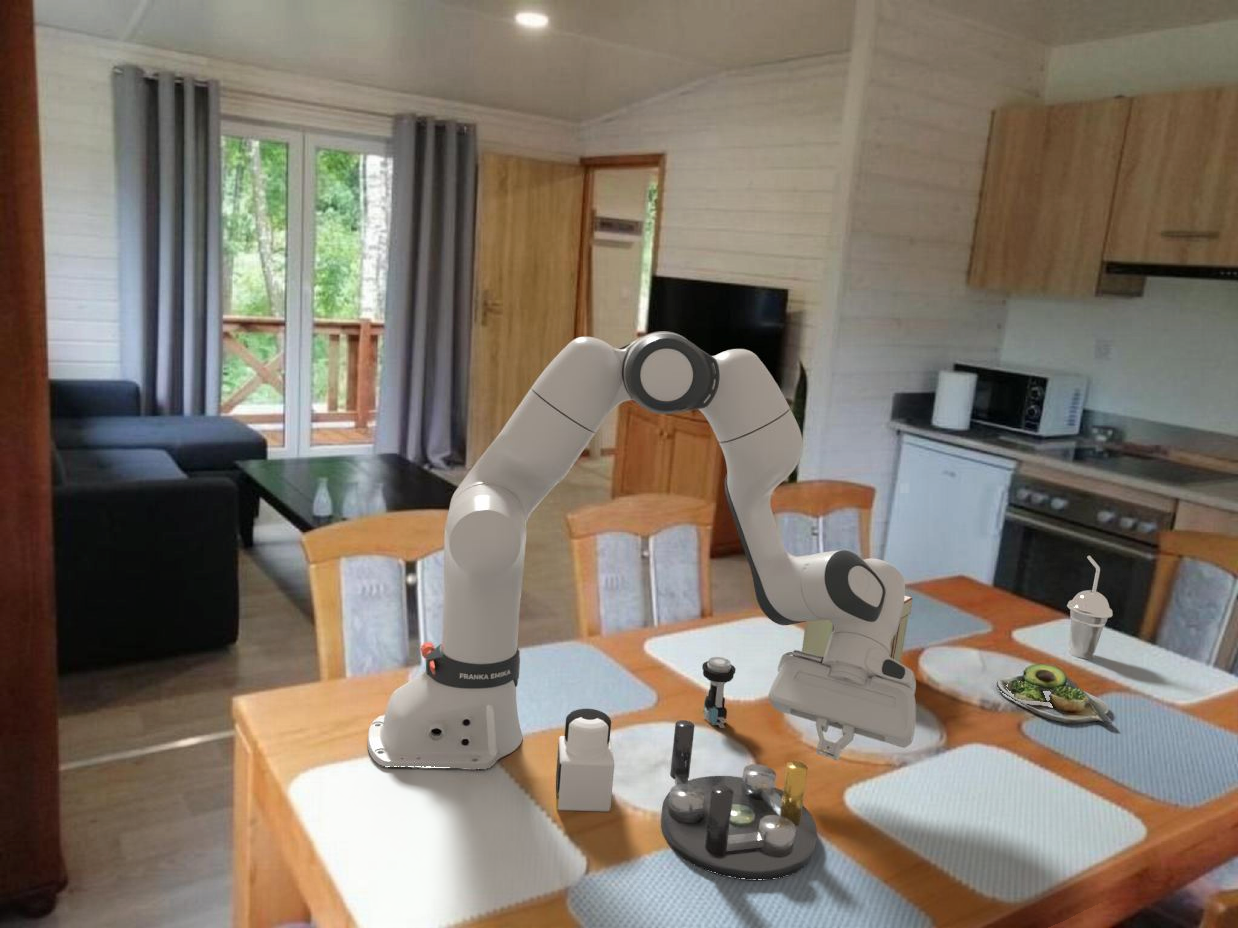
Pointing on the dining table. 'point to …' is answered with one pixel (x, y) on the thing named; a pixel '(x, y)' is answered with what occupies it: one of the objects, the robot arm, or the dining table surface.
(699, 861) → the levelling plate
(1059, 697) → the salad plate
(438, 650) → the robot arm
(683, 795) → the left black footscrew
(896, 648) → the gift box
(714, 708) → the push button
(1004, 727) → the dining table surface
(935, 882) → the dining table surface
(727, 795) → the front black footscrew
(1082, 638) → the cup with straw
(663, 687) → the dining table surface
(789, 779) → the amber footscrew
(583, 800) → the white and black device
